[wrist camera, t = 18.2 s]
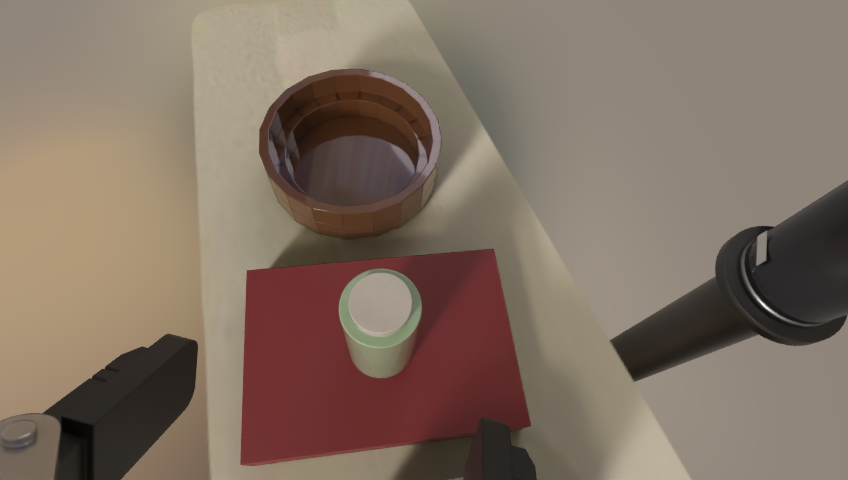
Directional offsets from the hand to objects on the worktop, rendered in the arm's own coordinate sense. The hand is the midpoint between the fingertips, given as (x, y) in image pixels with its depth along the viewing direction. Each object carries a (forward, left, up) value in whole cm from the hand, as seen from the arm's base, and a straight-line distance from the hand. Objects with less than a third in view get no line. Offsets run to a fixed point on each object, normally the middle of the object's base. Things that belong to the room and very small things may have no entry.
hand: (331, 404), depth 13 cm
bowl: (-1, -25, -25) cm, 35 cm away
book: (-2, -7, -25) cm, 26 cm away
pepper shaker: (-2, -7, -22) cm, 23 cm away
